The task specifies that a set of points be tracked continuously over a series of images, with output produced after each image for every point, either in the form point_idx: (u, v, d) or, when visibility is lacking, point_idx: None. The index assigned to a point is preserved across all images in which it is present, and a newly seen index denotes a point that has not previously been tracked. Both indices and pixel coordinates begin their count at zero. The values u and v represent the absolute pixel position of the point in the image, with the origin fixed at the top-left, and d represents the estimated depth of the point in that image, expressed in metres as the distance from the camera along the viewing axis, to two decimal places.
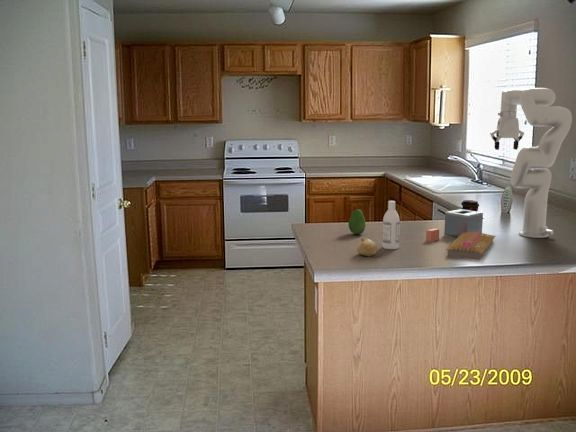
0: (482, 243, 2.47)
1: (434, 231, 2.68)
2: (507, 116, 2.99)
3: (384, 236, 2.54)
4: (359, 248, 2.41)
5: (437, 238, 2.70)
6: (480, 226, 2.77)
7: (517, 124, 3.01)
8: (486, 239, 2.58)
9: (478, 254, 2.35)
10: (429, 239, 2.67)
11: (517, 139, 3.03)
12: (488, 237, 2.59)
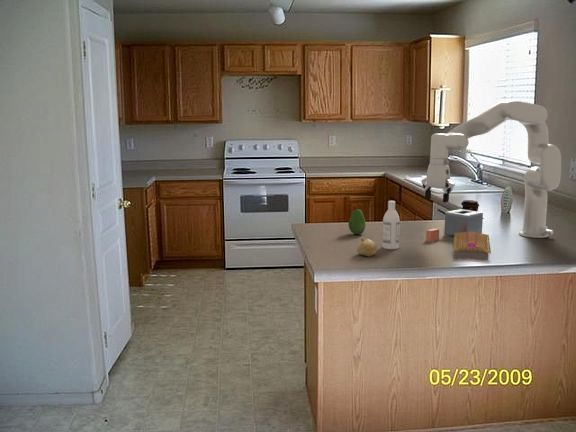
0: (484, 243, 2.47)
1: (434, 231, 2.68)
2: None
3: (384, 236, 2.54)
4: (359, 248, 2.41)
5: (437, 238, 2.70)
6: (480, 226, 2.77)
7: None
8: (482, 238, 2.59)
9: (486, 254, 2.35)
10: (429, 239, 2.67)
11: None
12: (484, 236, 2.60)
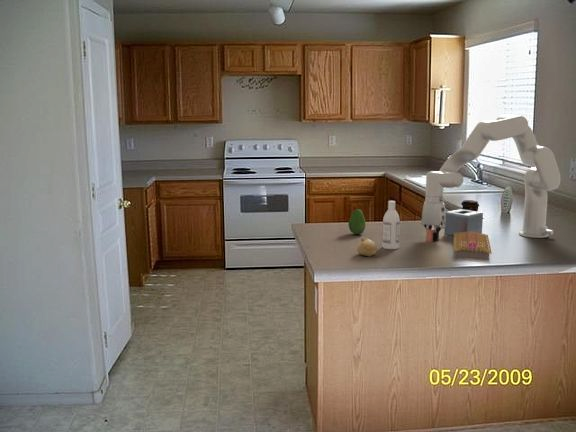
0: None
1: None
2: None
3: (384, 236, 2.54)
4: (359, 248, 2.41)
5: None
6: (480, 226, 2.77)
7: None
8: (482, 238, 2.60)
9: (487, 254, 2.35)
10: (429, 239, 2.67)
11: None
12: (483, 236, 2.60)
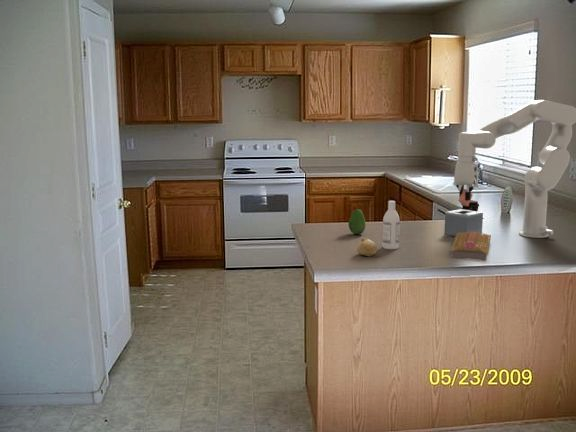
0: (483, 243, 2.47)
1: None
2: None
3: (384, 236, 2.54)
4: (359, 248, 2.41)
5: (471, 196, 2.77)
6: (480, 226, 2.77)
7: None
8: (484, 238, 2.59)
9: (484, 254, 2.35)
10: (465, 205, 2.77)
11: None
12: (485, 236, 2.60)
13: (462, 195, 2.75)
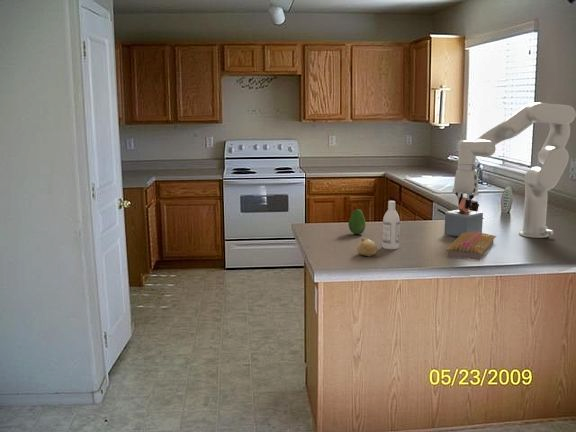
0: (482, 243, 2.47)
1: (464, 205, 2.75)
2: None
3: (384, 236, 2.54)
4: (359, 248, 2.41)
5: None
6: (480, 226, 2.77)
7: None
8: (486, 239, 2.58)
9: (478, 254, 2.35)
10: (464, 213, 2.77)
11: (462, 195, 2.79)
12: (488, 237, 2.59)
13: (461, 203, 2.76)
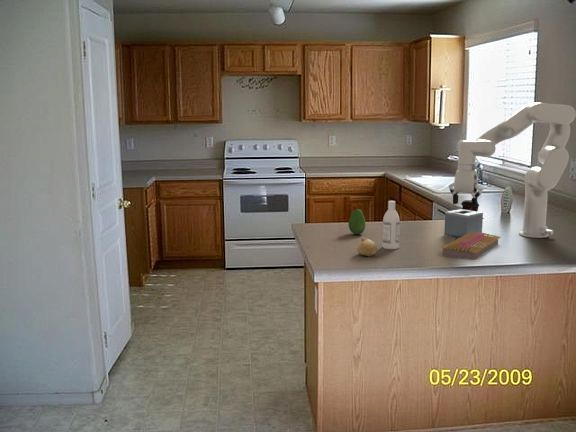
0: (481, 243, 2.47)
1: None
2: None
3: (384, 236, 2.54)
4: (359, 248, 2.41)
5: None
6: (480, 226, 2.77)
7: None
8: (489, 240, 2.57)
9: (472, 254, 2.36)
10: None
11: (457, 192, 2.81)
12: (491, 238, 2.58)
13: None
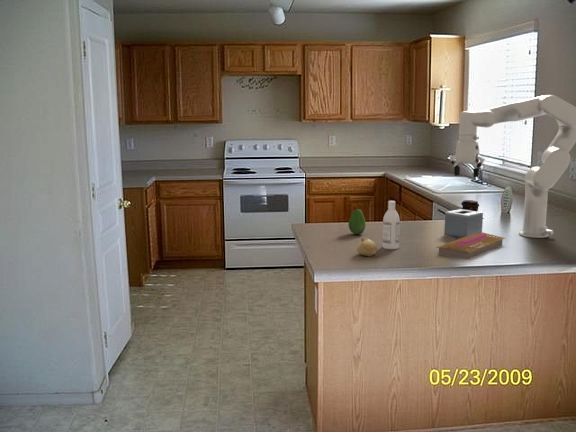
0: (479, 243, 2.46)
1: None
2: None
3: (384, 236, 2.54)
4: (359, 248, 2.41)
5: None
6: (480, 226, 2.77)
7: None
8: (491, 240, 2.56)
9: (466, 253, 2.37)
10: None
11: None
12: (494, 238, 2.56)
13: None
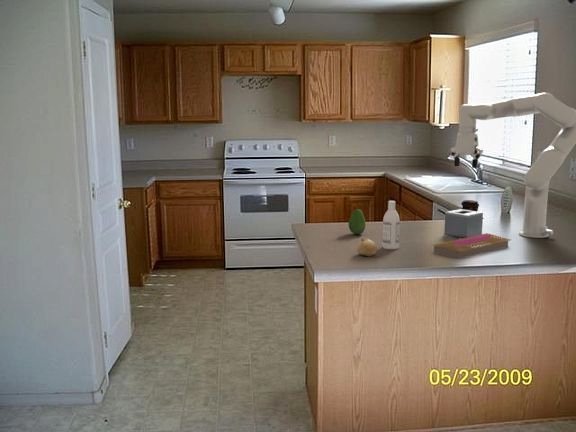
0: (477, 243, 2.46)
1: None
2: None
3: (384, 236, 2.54)
4: (359, 248, 2.41)
5: None
6: (480, 226, 2.77)
7: None
8: (494, 241, 2.54)
9: (458, 252, 2.38)
10: None
11: None
12: (497, 239, 2.54)
13: None
